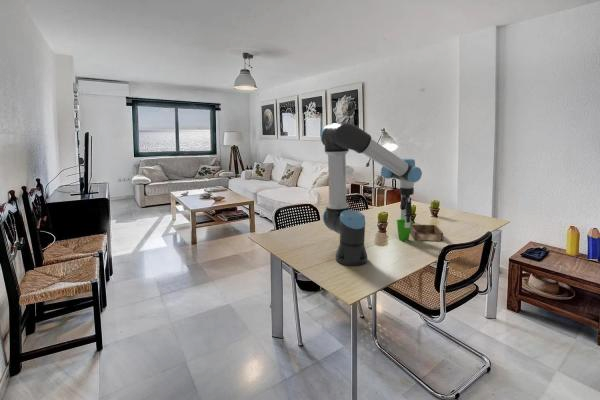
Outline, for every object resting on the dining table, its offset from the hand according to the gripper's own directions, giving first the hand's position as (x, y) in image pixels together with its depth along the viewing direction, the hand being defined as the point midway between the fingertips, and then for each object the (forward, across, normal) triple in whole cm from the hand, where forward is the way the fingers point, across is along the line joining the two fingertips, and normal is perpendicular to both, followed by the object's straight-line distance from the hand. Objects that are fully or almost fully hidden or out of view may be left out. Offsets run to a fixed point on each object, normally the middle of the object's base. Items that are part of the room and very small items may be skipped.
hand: (405, 224), depth 184 cm
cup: (+9, 0, 0) cm, 9 cm away
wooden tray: (+9, +7, -13) cm, 17 cm away
